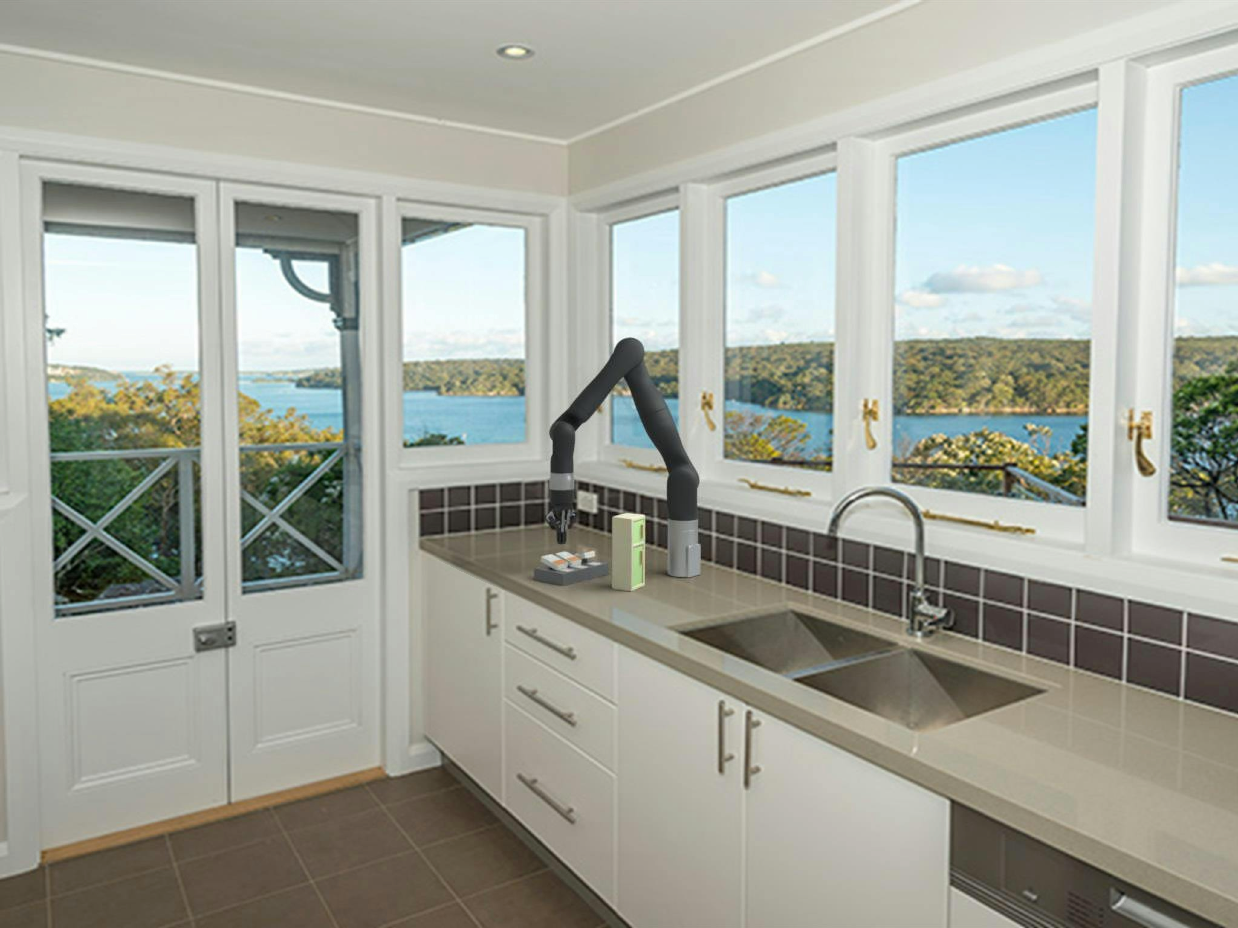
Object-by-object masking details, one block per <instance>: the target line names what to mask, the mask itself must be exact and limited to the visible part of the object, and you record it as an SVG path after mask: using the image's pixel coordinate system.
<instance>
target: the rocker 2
mask: <svg viewBox="0 0 1238 928" xmlns="http://www.w3.org/2000/svg"><path fill="white" fill-rule="evenodd" d="M573 555H574V556H575V557H577V558H579V559H585V558H588V559H589V558H593V557H596V554H595V550H590V551H583V552H580V553H574V554H573Z"/></svg>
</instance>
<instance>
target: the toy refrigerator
mask: <svg viewBox="0 0 1238 928" xmlns="http://www.w3.org/2000/svg"><path fill="white" fill-rule="evenodd" d="M645 559H646V515H645V514H640V513H630V512H629V513H628V512H626V513H622V514H618V515H614V516H612V518H611V588H612V589H613V590H619V591H626V592H634V591H637V590H638V589H640V588H643V587H645V585H646V582H645V581H646V580H645V577H646V576H645V575H646V574H645V573H646V569H645V568H646V567H645V565H646V560H645Z"/></svg>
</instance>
